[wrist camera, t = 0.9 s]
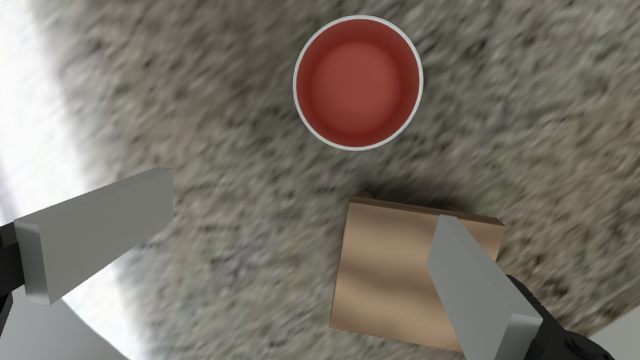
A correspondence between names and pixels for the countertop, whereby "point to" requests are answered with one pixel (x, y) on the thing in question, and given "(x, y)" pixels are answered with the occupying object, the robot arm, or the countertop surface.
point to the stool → (398, 270)
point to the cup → (357, 82)
